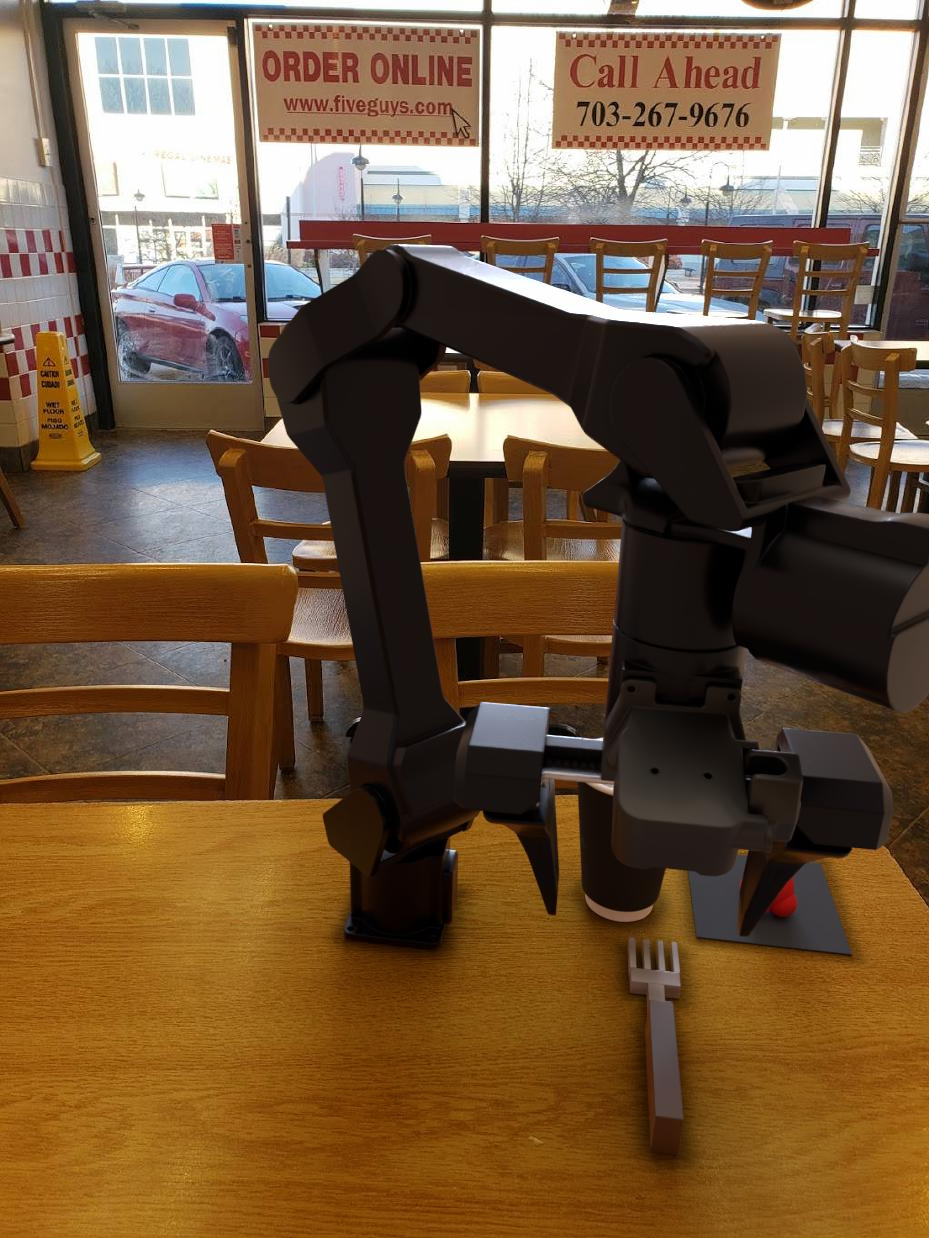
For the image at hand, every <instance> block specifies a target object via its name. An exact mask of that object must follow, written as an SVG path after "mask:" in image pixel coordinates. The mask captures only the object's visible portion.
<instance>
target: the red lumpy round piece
mask: <svg viewBox="0 0 929 1238" xmlns="http://www.w3.org/2000/svg"><path fill="white" fill-rule="evenodd" d="M741 882H742V879H741ZM741 882H740V887H741ZM796 907H797V900H796V896H795V893H794V881H793V877H792V878H791V879H790V880H789V881H788V882H787V884H786V885H785V886H784V888H783V889H782V890H781V892H779V894H778V896H777V897H776V899H775V900H774V901H773V903H772V904H771V906H770V907H769V908H768V910H767V911H766V913H767V912H768V911H769V910H770V911H771V912H772V913H773V914H775V915H776V916H779V917H787V916H790V915H791V914H793V913H794V911H795V910H796Z"/></svg>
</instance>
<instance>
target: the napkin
mask: <svg viewBox="0 0 929 1238" xmlns="http://www.w3.org/2000/svg"><path fill="white" fill-rule="evenodd" d="M746 859H747V855H743V854H737V856H736V860H735V863H734V866H733V868H732V869H731V870H730V871H729V872H728V873H726V874H723V875H720V876H704V875H700V874H698V873H697V872H694V871H687V874H688V875H687V876H688V881H689V890H690V898H691V905H692V911H693V912H692V913H693V920H694V921H693V922H694V927H695V937H696V939H705V940H712V941H721V942H729V943H738V944H747V945H748V944H749V945H757V946H765V947H775V948H783V949H793V950H801V951H810V952H818V953H826V954H827V953H828V954H837V955H846V956H853V953H852V949H851V946H850V944H849V941H848V939H847V936H846V933H845V930H844V927H843V924H842V921H841V918H840V915H839V913H838V910H837V907H836V904H835V902H834V901H835V900H834V898H833V895H832V893H831V889H830V886H829V884H828V881H827V878H826V875H825V873H824V870H823V867H822V863H820V862H814V861H811V862H808V863H806V864H805V865H804V866H803V867H802V868H801V869H800V870H799V871H798V872H797V873H796V874H795V875H794V876H793V881H794V893H795V896H796V900H797V907H796V910H795V911H794V913H793V914H791V915H790V916H787V917H779V916H776V915H775V914H773V913H772V912H771V911H770V910H769V911H768V912H767V913H765V914H764V915H763V917H762V918H761V920H760V921H759V922H758V924H757V925H756V927H755V928H754V929H753V931H752V932H751V934H750V935H749V936H748V937H741V936H739V932H738V927H737V915H738V903H739V892H740V882H741V879H742V878H743V873H744V869H745V864H746Z"/></svg>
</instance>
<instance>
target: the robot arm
mask: <svg viewBox="0 0 929 1238" xmlns="http://www.w3.org/2000/svg"><path fill="white" fill-rule="evenodd" d="M447 349H450V350H452V351H454V352H456V353H459V354H461V355H463V356H465V357H467V358H470V359H473V360H474V361H477V362H479V363H481V364H483V365H486V366H488V367H490V368H492V369H495V370H497V371H499V372H501V373H503V374H506V375H509V376H510V377H513V378H515V379H517V380H519V381H522V382H524V383H526V384H528V385H531V386H533V387H535V388H538V389H539V390H542V391H545V392H547V393H548V394H551V395H553V396H554V397H556V398H557V399H558V400H559V401H561V402H562V403H564V404H565V405H567V406H568V407H569V408H570V409H571V411H572V413H573V415H574V417H575V419H576V421H577V423H578V424H579V426H580V428H581V430H582V431H583V433H584V434H585V435H586V436H587V437H588V438H589V439H590V440H592V441H593V442H595V443H596V444H598V445H599V446H600V447H602V448H603V449H604V450H606V451H607V452H608V453H610V454H611V455H612V456H613V457H615V458H616V459H618V462H617V464H616V465H615V467H614V468H613V469H612V470H611V471H610V472H609V473H608V474H607V475H606V476H605V477H603V478H602V479H600V480H599V481H598V482H596V483H594V484H593V485H592V486H591V487H589V488H588V489H586V490H585V491H584V492H583V493H582V497H581V500H582V503H583V505H584V506H585V507H587V508H589V509H593V510H596V511H600V512H603V513H607V514H611V515H615V516H618V517H620V518H622V522H621V533H620V546H619V557H618V567H617V579H616V590H615V602H614V612H613V613H614V614H613V622H612V632H611V633H612V635H611V645H610V657H609V668H608V678H607V691H606V703H605V711H604V712H605V713H604V725H603V735H602V736H603V737H602V738H603V740H598V739H599V738H585V737H575V736H563V735H551V734H549V730H550V707H542V706H531V705H518V704H507V703H497V702H484V701H481V702H479V703H478V704H477V705H476V706H475V707H474V708H472V710H471V711H470V712H468V714H467V718H466V720H465V719H464V717H462V715H461V714H460V713H459V712H458V711H457V710H456V709H455V707H454V706H453V705H452V703H450V702H449V700H448V699H447V698H446V697H445V694H444V691H443V687H442V681H441V674H440V670H439V669H440V668H439V663H438V662H439V661H438V656H437V650H436V645H435V640H434V639H435V638H434V633H433V628H432V627H433V626H432V621H431V616H430V610H429V604H428V598H427V592H426V586H425V585H426V584H425V581H424V574H423V568H422V563H421V557H420V551H419V543H418V539H417V531H416V526H415V521H414V514H413V510H412V509H413V508H412V502H411V497H410V496H411V495H410V492H409V491H410V490H409V485H408V479H407V473H406V459H407V456H408V455H409V451H410V449H411V445H412V443H413V440H414V438H415V434H416V433H417V429H418V426H419V424H420V421H421V418H422V411H423V410H422V409H423V408H422V393H421V381H422V380H424V378H425V377H426V376H428V374H429V373H431V372H432V371H433V370H434V369H435V368H436V367H438V365H440V363H442V362H443V361H444V359H445V357H446V354H447V353H446V352H447ZM266 363H267V364H266V365H267V377H268V380H269V384H270V387H271V390H272V392H273V394H274V396H275V397H276V401H277V405H278V407H279V413H280V416H281V418H282V422H283V426H284V429H285V433H286V436H287V437H288V438H289V440H290V441H291V442H292V443H293V444H294V446H295V447H296V449H298V450H299V451H300V453H301V454H302V455H303V456H304V458H305V459H306V460H307V461H308V462H309V464H311V466H312V467H313V468H314V470H316V472H317V473H318V474H319V475H320V478H321V482H322V485H323V491H324V495H325V502H326V506H327V512H328V518H329V523H330V528H331V535H332V540H333V545H334V550H335V556H336V561H337V567H338V572H339V573H338V574H339V579H340V584H341V588H342V594H343V600H344V605H345V610H346V611H345V612H346V615H347V621H348V627H349V631H350V632H349V633H350V637H351V643H352V648H353V654H354V659H355V660H354V661H355V665H356V671H357V676H358V683H359V687H360V693H361V698H362V707H363V710H362V713H361V715H360V718H359V722H358V724H357V727H356V729H355V732H354V736H353V738H352V741H351V744H350V746H349V749H348V751H347V756H346V759H347V772H348V781H349V793H348V794H347V795H346V796H344V797H343V798H342V799H341V800H339V801H338V802H337V803H335V804H334V805H332V806H331V807H330V808H328V809H327V810H326V811H325V812H323V814H322V820H323V825H324V829H325V834H326V838H327V843H328V845H329V846H330V847H331V848H332V849H333V850H334V851H335V852H337V853H338V854H340V855H341V856H342V857H343V858H344V859H346V860H347V861H348V862H349V892H350V895H349V899H350V910H349V913H348V916H347V918H346V921H345V924H344V926H343V937H345V939H348V940H357V941H363V942H364V941H366V942H373V943H381V944H391V945H397V946H398V945H399V946H407V947H415V948H423V949H430V950H431V949H432V950H433V949H438V948H440V946H441V944H442V941H443V937H444V932H445V928H446V925H450V924H451V923H452V922H453V918H454V914H455V909H456V906H457V902H458V879H459V878H458V876H459V873H458V872H459V853H458V851H457V850H456V849H451V837H453V836H455V835H457V834H459V833H461V832H465V833H466V832H467V831H469V830H470V829H471V828H472V826H473V823H474V822H475V819H476V818H477V817H478V816H479V815H480V813H482V815H483V818H484V819H485V820H486V822H488V823H490V824H493V825H501V826H504V827H506V828H508V829H509V830H511V831H512V832H513V833H515V835H516V837H517V838H518V840H519V842H520V844H521V846H522V848H523V850H524V852H525V854H526V856H527V859H528V861H529V864H530V866H531V869H532V872H533V875H534V879H535V882H536V884H537V887H538V890H539V893H540V895H541V899H542V902H543V904H544V907H545V911H546V913H547V915H548V916H556V915H557V910H558V897H559V896H558V895H559V883H560V861H559V845H558V842H559V841H558V827H557V826H558V825H557V809H556V807H557V805H556V788H555V787H556V786H555V781H567V782H576V783H577V782H586V783H597V784H608V785H614V787H613V817H612V841H611V845H612V851H613V853H614V855H615V856H616V858H617V859H618V860H619V861H620V862H621V863H623V864H625V865H626V866H629V867H632V868H638V869H649V868H652V867H657V868H666V869H668V870H677V871H685V872H688V871H694V872H697V873H698V874H700V875H704V876H720V875H723V874H726V873H728V872H729V871H730V870H731V869H732V868H733V866H734V863H735V860H736V856H737V855H738V852H739V850H741V851H744V850H745V851H747V855H746V856H747V859H746V864H745V869H744V873H743V878H742V882H741V887H740V892H739V903H738V915H737V927H738V932H739V936H741V937H748V936H749V935H750V934H751V932H752V931H753V929H754V928H755V927H756V925H757V924H758V922H759V921H760V920H761V918H762V917H763V915H764V914H765V913H766V911H767V910H768V908H769V907H770V906H771V904H772V903H773V901H774V900H775V899H776V897H777V896H778V894H779V892H781V890H782V889H783V888H784V886H785V885H786V884H787V882H788V881H789V880H790V879H791V878H792V877H793V876H794V875H795V874H796V873H797V872H798V871H799V870H800V869H801V868H802V867H803V866H804V865H805V864H806V863H808V862H815V861H818V860H823V859H839V860H840V859H844V858H846V857H848V856H849V855H850V854H851V852H852V851H853V849H859V850H872V851H877V850H879V849H881V848H882V847H884V846H885V845H887V843H888V838H889V832H890V829H891V824H892V819H893V815H894V802H893V801H894V800H893V799H894V798H893V791H892V789H891V788H890V786H889V784H888V782H887V780H886V778H885V776H884V775H883V773H882V770H881V769H880V766H879V765H878V763H877V762H876V759H875V757H874V756H873V754H872V751H871V750H870V748H869V747H868V745H867V744H866V743H865V742H864V741H863V739H862V738H861V737H860V736H859V735H858V734H857V733H847V732H838V731H827V730H826V731H825V730H813V729H804V728H803V729H802V728H792V727H791V728H789V727H782V728H781V730H780V731H779V732H778V734H776V739H775V744H774V750H765V749H764V750H762V749H760V743H759V741H755V740H747V738H746V734H745V730H744V725H743V721H742V720H743V719H742V716H741V712H740V711H741V704H742V688H743V682H744V680H743V676H744V671H745V670H744V669H745V662H746V656H747V651H748V653H749V654H750V655H751V656H752V657H753V659H754V660H756V661H759V662H761V663H764V664H767V665H769V666H773V667H775V668H778V669H781V670H783V671H786V672H789V673H791V674H794V675H797V676H798V677H799V676H800V677H802V678H805V679H807V680H810V681H814V682H815V683H818V684H821V685H824V686H827V687H830V688H832V689H835V690H838V691H840V692H843V693H845V694H849V695H851V696H854V697H857V698H860V699H862V700H865V701H867V702H870V703H873V704H876V705H878V706H881V707H884V708H887V709H889V710H893V711H895V712H897V713H899V714H900V713H902V714H904V713H907V712H911V711H912V710H915V708H917V707H918V706H919V705H920V704H921V703H923V702H924V700H925V699H926V698H928V696H929V513H922V512H893V511H888V510H883V509H879V508H874V507H870V506H869V507H868V506H864V505H860V504H856V503H851V502H846V500H847V499H849V498H850V496H851V492H852V491H851V486H850V484H849V482H848V479H847V477H846V476H845V474H844V472H843V469H842V467H841V466H840V465H841V464H840V463H839V461H838V459H837V457H836V455H835V453H834V451H833V449H832V446H831V445H830V442H829V440H828V437H827V436H826V434H825V432H824V429H823V427H822V425H821V423H820V422H819V419H818V417H817V415H816V412H815V411H814V408H813V406H812V404H811V402H810V400H809V398H808V394H809V393H808V392H809V391H808V383H807V373H806V368H805V366H804V363H803V361H802V359H801V356H800V354H799V345H798V342H797V341H795V340H794V339H793V338H792V336H791V335H790V334H788V332H786V331H785V330H783V329H782V328H779V327H778V326H776V325H774V324H772V323H769V322H763V321H759V320H750V319H740V318H730V317H729V318H728V317H717V316H708V315H696V314H695V315H694V314H675V313H657V312H645V311H644V312H642V311H632V310H624V309H621V308H617V307H615V306H611V305H608V304H606V303H602V302H599V301H596V300H594V299H591V298H587V297H585V296H582V295H579V294H576V293H573V292H570V291H567V290H565V289H561V288H558V287H556V286H552V285H549V284H547V283H544V282H541V281H538V280H535V279H532V278H529V277H527V276H523V275H520V274H518V273H515V272H512V271H509V270H506V269H503V268H501V267H498V266H494V265H491V264H488V263H486V262H482V261H480V260H477V259H474V258H471V257H469V256H468V255H466V254H465V253H464V252H462V251H460V250H458V249H457V248H455V247H454V246H451V245H431V244H430V245H429V244H427V245H426V244H395V243H393V244H392V243H391V244H390V243H389V244H386V246H383V247H382V248H381V249H376V250H375V251H374V252H372V253H370V254H369V255H368V257H367V258H366V259H365V261H364V262H362V263H361V265H360V267H359V268H358V269H357V270H356V272H355V273H354V274H352V275H350V276H349V277H348V278H346V279H345V280H343V281H341V282H339V283H338V284H336V285H335V286H333V287H331V288H330V289H328V290H326V291H325V292H323V293H321V294H320V295H318V296H316V297H315V298H313V299H311V300H309V301H308V302H306V303H305V304H303V305H302V306H301V307H300V308H299V309H298V310H297V312H296V313H295V314H294V315H293V317H292V318H291V319H290V320H289V321H288V322H287V323H286V324H285V325H284V326H283V329H282V330H281V332H280V334H279V335H278V336H277V337H276V339H275V340H274V342H273V343H272V345H271V346H270V349H269V351H268V356H267V362H266ZM760 462H763V463H764V464H765V465H766V466H767V467H768V468H767V469H763V470H759V471H753V472H750V473H746V474H740V475H737V476H733V475H732V473H731V471H730V469H733V468H737V467H742V466H746V465H747V466H748V465H751V464H755V463H760Z"/></svg>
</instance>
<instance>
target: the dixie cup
mask: <svg viewBox="0 0 929 1238" xmlns="http://www.w3.org/2000/svg"><path fill="white" fill-rule="evenodd" d="M597 739H598V740H603V737H598V738H597ZM576 785H577V806H578V827H579V829H578V831H579V852H580V853H579V855H580V874H581V886H582V890H583V892H584V897H585V902H586V904H587V906H588V907H589V908H590V910H591V911H592V912H594V913H596V914H597V915H598V916H600V917H602V918H604V919H607V920H609V921H614V922H621V923H629V922H636V921H640V920H643V919H644V918H646V917H647V916H649V914H651V912H652V910H653V908H654V904H655V903H656V902H657V901H658V899H659V897H660V892H661V891H662V890H661V889H662V885H663V881H664V877H665V874H666V868H657V867H652V868H649V869H638V868H632V867H629V866H626V865H625V864H623V863H621V862H620V861H619V860H618V859H617V858H616V856H615V855H614V853H613V851H612V845H611V841H612V817H613V787H614V785H608V784H597V783H586V782H576Z"/></svg>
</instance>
